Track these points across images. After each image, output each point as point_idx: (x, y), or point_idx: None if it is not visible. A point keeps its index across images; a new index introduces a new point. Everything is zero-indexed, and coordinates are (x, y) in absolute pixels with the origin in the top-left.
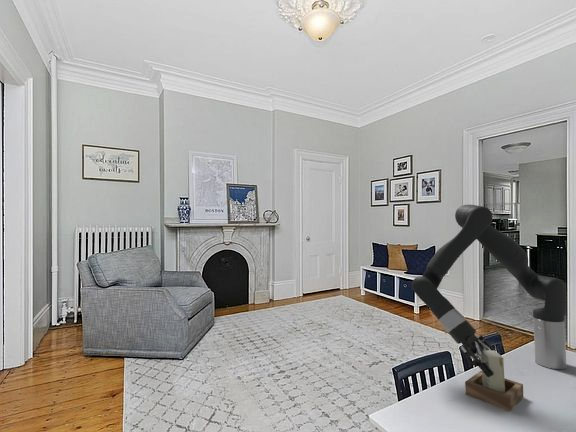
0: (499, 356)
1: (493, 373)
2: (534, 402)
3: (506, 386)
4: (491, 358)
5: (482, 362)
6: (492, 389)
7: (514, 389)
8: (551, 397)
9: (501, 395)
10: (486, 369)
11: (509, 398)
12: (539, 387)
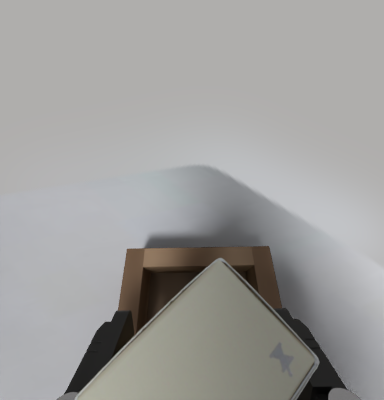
0: (220, 288)
1: (275, 308)
2: (149, 231)
3: (144, 302)
4: (292, 335)
5: (352, 394)
6: None
7: (193, 254)
8: (89, 212)
9: (272, 271)
10: (317, 345)
11: (266, 247)
12: (36, 248)
